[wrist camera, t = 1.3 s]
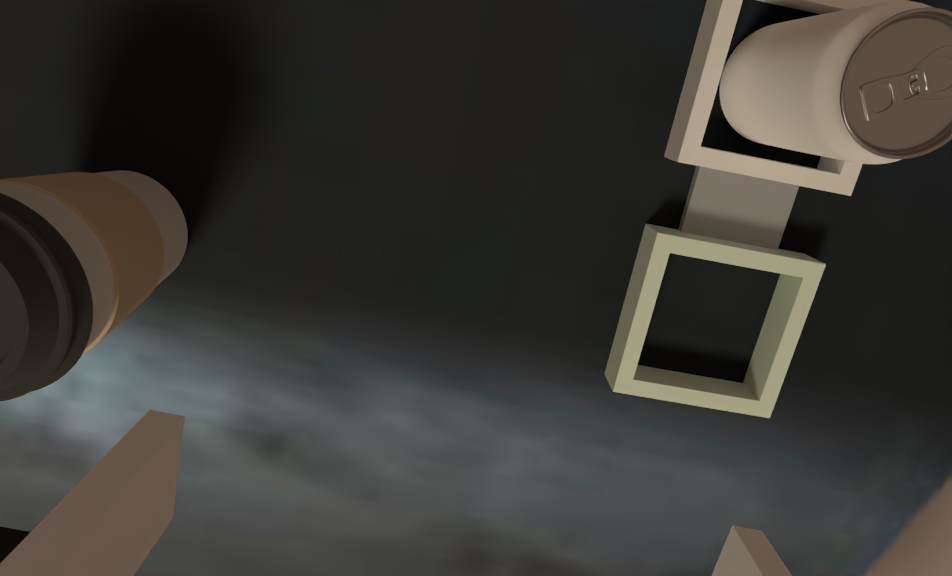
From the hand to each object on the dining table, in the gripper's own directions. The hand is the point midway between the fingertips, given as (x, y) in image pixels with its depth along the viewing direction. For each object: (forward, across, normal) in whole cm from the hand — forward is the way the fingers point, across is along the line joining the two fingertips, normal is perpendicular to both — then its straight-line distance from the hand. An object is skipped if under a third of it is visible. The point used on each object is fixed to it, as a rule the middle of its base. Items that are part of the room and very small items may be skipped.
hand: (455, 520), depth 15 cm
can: (+25, +15, +14) cm, 32 cm away
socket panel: (+25, +15, +7) cm, 30 cm away
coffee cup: (+25, -19, -3) cm, 32 cm away
